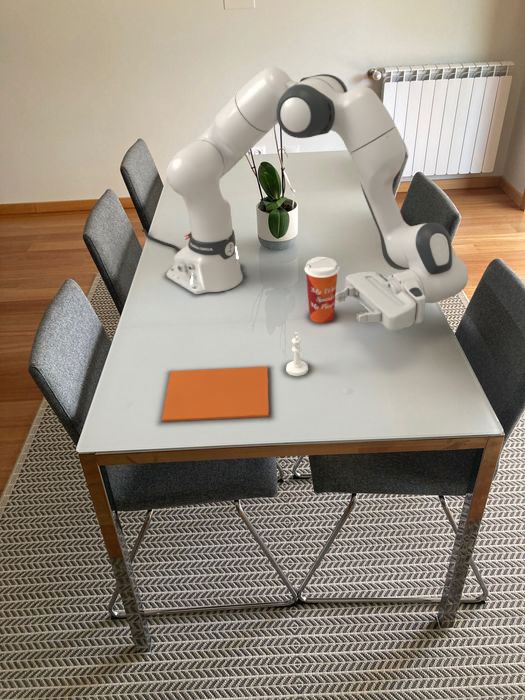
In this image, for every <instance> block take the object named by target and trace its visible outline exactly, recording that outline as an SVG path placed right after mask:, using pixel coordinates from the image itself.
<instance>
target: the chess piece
mask: <svg viewBox="0 0 525 700" xmlns="http://www.w3.org/2000/svg"><path fill="white" fill-rule="evenodd" d="M291 343H292V344H293V346H292V348H291V351H292V352H293V353H294V354H293V360H292V361H289V362H288V363H287V364H286V367H285V368H286V369H285V371H286V372H287V374H289V375H290V376H294V377H300V376H304V375H306V374H307V373H308V371H309V366H308V364H307V362H305V361H303V360H301V357H300V352H302V347H301V346H300V345H301V343H302V339H301V338H300V337H298V332H297V331H295V332H294V337H293V338H292V339H291Z"/></svg>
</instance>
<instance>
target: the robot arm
mask: <svg viewBox="0 0 525 700" xmlns="http://www.w3.org/2000/svg"><path fill="white" fill-rule="evenodd" d="M277 124H278V125H279V127H280V129H281V130H282V131H283V132H284V133H285V134H286V135H288V136H289V137H292V138H297V139H308V138H312V137H316V136H321V135H326V134H329V133H330V131H332V132H335V133H336V134H337V135H338V136H339V137H340V139H341V140H342V142H343V144H344V145H345V148H346V149H347V152H348V153H349V156H350V158H351V160H352V162H353V164H354V166H355V169H356V172H357V174H358V177H359V181H360V187H361V191H362V193H363V195H364V199H365V202H366V203H367V206H368V209H369V211H370V213H371V216H372V219H373V221H374V224H375V226H376V229H377V231H378V233H379V237H380V245H381V252H382V256H383V259H384V260H385V262H386V263H387V265H388V266H390V267H391V268H393V269H394V270H398V272H395V273H392V274H389V275H388V276H387V277H384V276H383V274H381V273H377V272H375V271H371V270H368V271H359V272H356V273H351V274H348V275H347V276H346V277H345V278H344V279H345V280H344V289H342V290H341V291H336V294H335V301H337V302H338V303H342V302H345V301H346V298H347V297H349V298H351V297H352V298H354V299H355V300H356V301H357V302H358V303H359V304H360V305H361V306H362V307H363V308H364V309H366V310H367V311H368V312H366V311H360V312H357V313H356V315H355V316H356V317H355V319H356V321H357V322H359V323H360V324H363V323H366V322H367V323H380V324H382V325H383V326H384V327H385V328H386V329H387V330H390V331H398V330H401V329H405V328H408V327H411V326H412V325H414V324H420V323H423V321H424V316H425V310H426V304H436V303H439V302H442V301H444V300H447V299H450V298H452V297H455V296H456V295H458V294H459V293H461V292H462V291H463V290H464V289H465V288H466V286H467V284H468V281H469V270H468V267H467V264H466V263H465V261H463V260H462V259H461V258H460V257H459V256H458V255H457V253H456V252H455V249H454V248H453V245H452V239H451V238H452V237H451V235H450V233H449V231H448V230H447V229H446V228H445V226H443V225H442V224H440V223H438V222H433V221H432V222H426V223H425V222H424V223H420V224H417V225H411V226H410V225H409V224H408V223H406V221H405V220H404V218H403V216H402V213H401V210H400V208H399V205H398V203H397V200H396V197H395V195H394V191H393V190H394V189H393V185H394V181H395V178H396V177H397V175H398V174H399V173H400V171H401V170H402V167H403V165H404V162H405V158H406V155H407V154H406V148H405V144H404V141H403V138H402V135H401V133H400V131H399V129H398V128H397V126H396V124H395V121H394V120H393V118H392V116H391V114H390V112H389V110H388V109H387V107H386V105H384V103H383V101H382V100H381V99H380V97H379V96H378V95H377V94H376V92H375V90H373V89H372V88H370V87H368V86H356V87H353V88H350V89H349V90H348V88H347V85H346V84H345V83H344V81H343V80H342V79H341V78H339V77H338V76H336V75H333V74H329V73H327V74H326V73H321V74H315V75H311V76H307V77H302V78H301V79H300V80H299V81H294V80H293V78H291V77H290V75H288V73H287V72H285V71H284V70H282V69H281V68H278V67H274V66H270V67H266V68H264V69H263V70H261V71H259V72H258V73H257V74H255V75H254V76H253V77H251V79H249V80H247V82H246V83H245V84H244V85H242V86H241V88H240V89H238V91H237V92H236V93H235V94H234V95H233V96H232V97H231V98H230V100H228V101H227V102H226V103H225V105H224V106H223V107H222V108H221V109H220V110H219V111H218V113H217V114H215V116H214V118H213V120H212V121H211V123H210V124H209V125H208V127H207V128H206V129H205V131H203V133H202V134H201V135H199V136H198V137H197V138H195V140H193V141H192V142H191V143H189V144H187V145H186V146H185V147H183V148H182V149H180V150H179V151H177V153H176V154H174V156H173V158H172V159H171V161H170V162H169V163H168V165H167V168H166V179H167V182H168V184H169V186H170V188H171V189H172V190H173V191H174V192H175V193H176V194H178V195H179V196H181V197H182V200H183V201H184V203H185V206H186V210H187V214H188V219H189V226H190V227H189V228H190V232H189V233H188V234H185V235H184V240H185V241H186V240H188V244H186V245H185V246H184V247H182V248H181V249H180V248H179V247H178V246H176V245H174V244H172V243H169V242H165V241H162V240H160V239H157V238H155V237H153V236H151V235H150V234H149V233H148V231H147V229H145V228H143V229H142V231H141V232H142V233H144V235H145V236H146V237H147V238H148V239H150V240H152V241H154V242H156V243H159V244H162V245H164V246H168V247H171V248H173V249H175V250H176V251H177V253H176V254H175V255H174V258H173V265H172V266H171V267H170V268H169V269H168V270H167V272H166V277H167V278H168V279H169V280H171V281H172V282H174V283H176V284H178V285H179V286H181V287H183V288H184V289H186V290H187V291H189V292H191V293H192V294H194V295H201V294H206V293H220V292H224V291H228V290H230V289H234V288H235V287H237V286H238V285H240V284H241V283H242V282H243V279H244V275H243V272H242V270H241V264H240V262H239V254H238V249H237V246H236V236H235V235H236V234H235V230H234V229H233V221H232V209H231V204H230V202H229V201H228V200H227V199H226V198H224V196H223V195H222V192H221V188H220V180H221V179H222V178H223V177H224V176H225V175H226V174H227V173H229V172H230V171H231V170H232V169H233V168H234V167H235V166H236V165H237V164H238V163H240V161H241V160H242V158H244V157H245V156H246V155H247V154H248V152H250V151H251V149H253V147H255V145H257V144H258V143H259V142H260V141H261V140H262V139H263V138H264V137H265V136H266V135H267V134H268V133H269V132H270V131H272V129H273V128H275V126H276V125H277ZM399 271H400V272H399Z"/></svg>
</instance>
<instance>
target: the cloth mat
mask: <svg viewBox="0 0 525 700" xmlns="http://www.w3.org/2000/svg"><path fill="white" fill-rule="evenodd" d="M268 370H269V369H268V366H248V367H247V366H246V367H230V368H229V367H227V368H208V369H188V370H187V369H185V370H171V371H170V373H169V378H168V383H167V390H166V394H165V400H164V405H163V411H162V416H161V422H186V421H187V422H188V421H205V420H206V421H207V420H208V421H209V420H227V419H247V418H248V419H249V418H250V419H251V418H269V417H270V408H269V405H270V404H269V372H268Z"/></svg>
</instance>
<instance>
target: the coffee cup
mask: <svg viewBox="0 0 525 700" xmlns="http://www.w3.org/2000/svg"><path fill="white" fill-rule="evenodd" d="M304 272H305V276H306V291H307V300H308V311H309V312H308V314H309V318H310V320H311V321H312V322H314V323H317V324H325V323H328V322H331V321H332V320H333V319H334V317H335V306H336V299H335V294H336V293H337V285H338V284H337V283H338V273H339V272H340V266H339V263H338V262H337V261H336V260H335V259H334V258H331V257H328V256H315V257H312V258H311V259H309V260H307V262H306V265H305V267H304Z"/></svg>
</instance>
